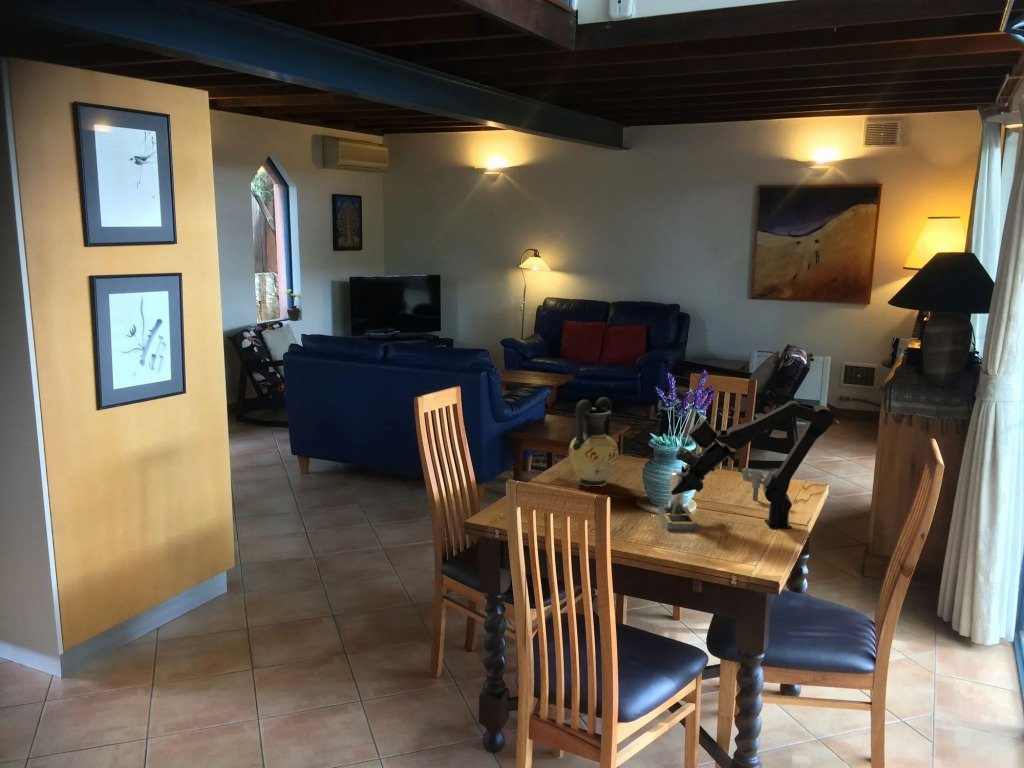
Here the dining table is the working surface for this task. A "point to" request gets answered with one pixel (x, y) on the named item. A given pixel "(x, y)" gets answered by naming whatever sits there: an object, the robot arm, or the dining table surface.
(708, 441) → the robot arm
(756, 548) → the dining table surface
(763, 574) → the dining table surface
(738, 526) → the dining table surface
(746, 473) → the mechanical component
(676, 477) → the steel peg
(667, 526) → the grey tray
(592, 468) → the amphora
